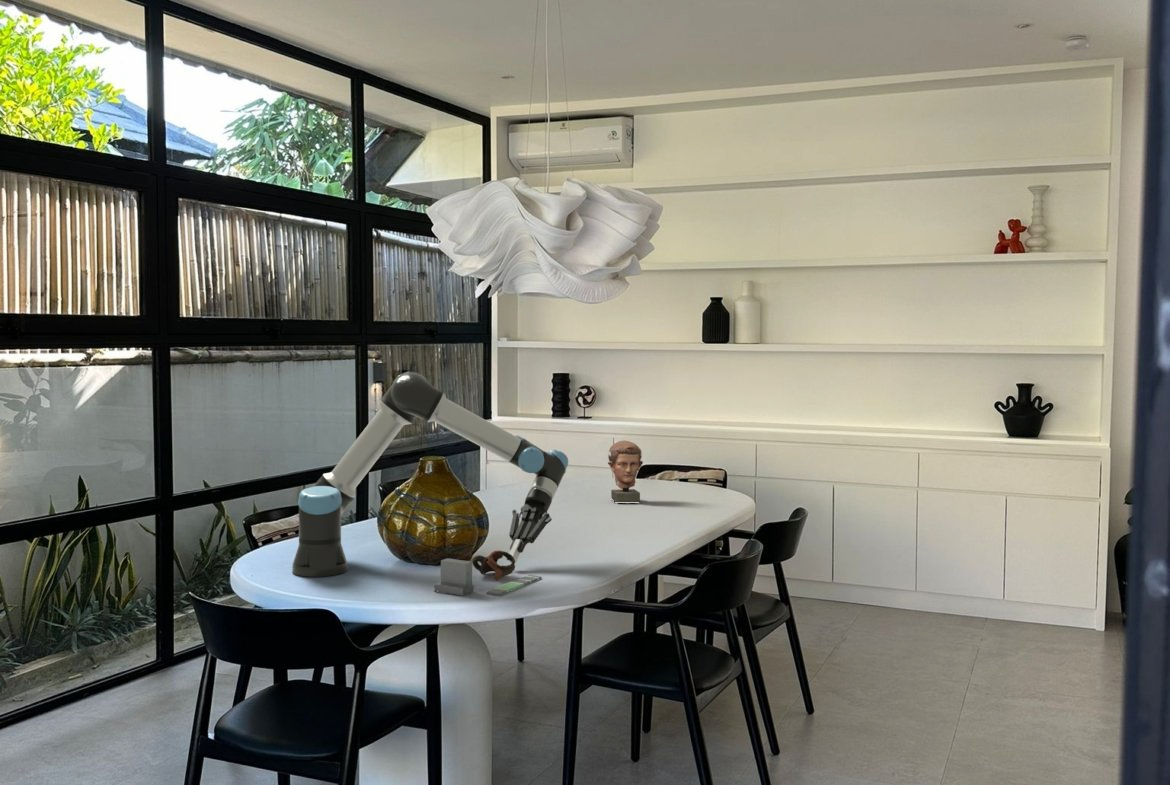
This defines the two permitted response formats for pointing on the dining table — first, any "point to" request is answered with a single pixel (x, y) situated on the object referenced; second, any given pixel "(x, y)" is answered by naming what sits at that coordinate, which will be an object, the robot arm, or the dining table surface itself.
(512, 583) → the gauge strip
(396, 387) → the robot arm
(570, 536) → the dining table surface
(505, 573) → the pottery mug
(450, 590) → the striated grey slab
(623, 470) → the bust
